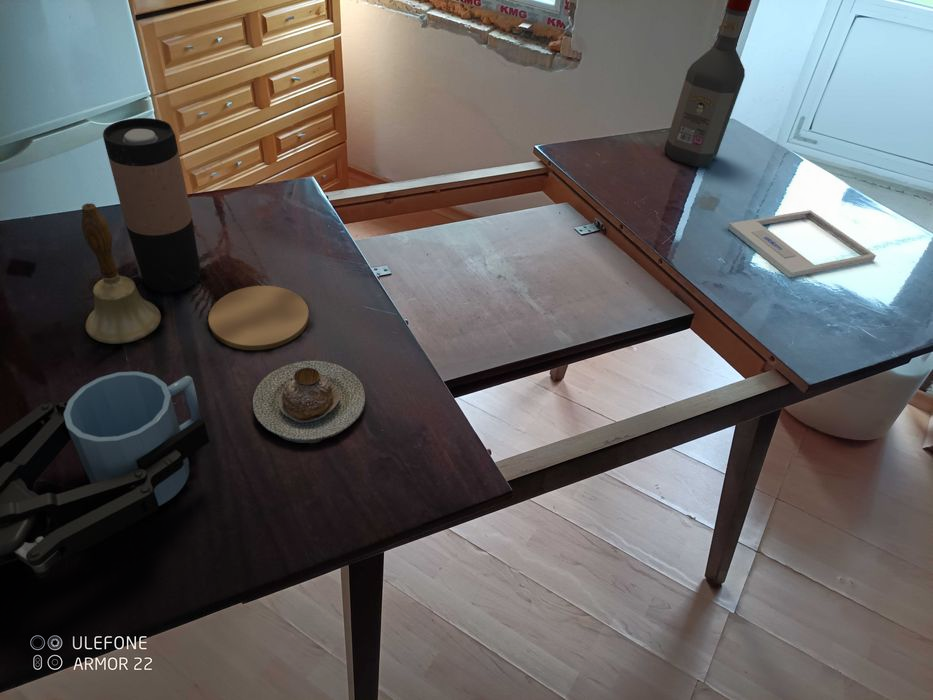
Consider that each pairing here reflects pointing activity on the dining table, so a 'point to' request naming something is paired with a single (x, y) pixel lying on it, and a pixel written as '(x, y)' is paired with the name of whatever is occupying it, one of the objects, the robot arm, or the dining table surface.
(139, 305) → the hand bell
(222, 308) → the coaster
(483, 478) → the dining table surface
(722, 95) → the liquor
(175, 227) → the travel mug
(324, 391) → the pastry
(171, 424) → the mug
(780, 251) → the photo frame
